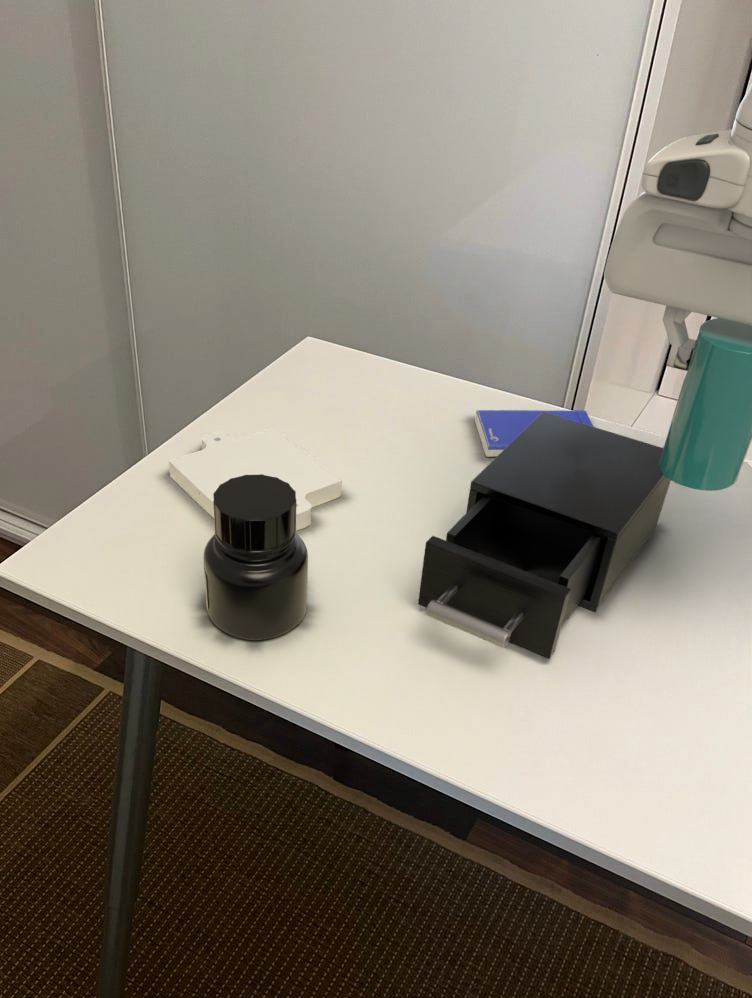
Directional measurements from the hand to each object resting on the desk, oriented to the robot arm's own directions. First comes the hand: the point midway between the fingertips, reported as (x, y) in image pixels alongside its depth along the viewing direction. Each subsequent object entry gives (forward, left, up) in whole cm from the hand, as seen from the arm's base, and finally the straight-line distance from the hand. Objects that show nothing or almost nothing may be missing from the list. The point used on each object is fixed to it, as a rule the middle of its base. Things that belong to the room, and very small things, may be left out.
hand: (727, 378), depth 70 cm
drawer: (+11, +5, -22) cm, 25 cm away
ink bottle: (+29, +19, -23) cm, 42 cm away
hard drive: (+21, -23, -23) cm, 39 cm away
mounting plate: (+41, +3, -23) cm, 47 cm away
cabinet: (+11, -6, -23) cm, 26 cm away
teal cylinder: (0, 0, -8) cm, 8 cm away
